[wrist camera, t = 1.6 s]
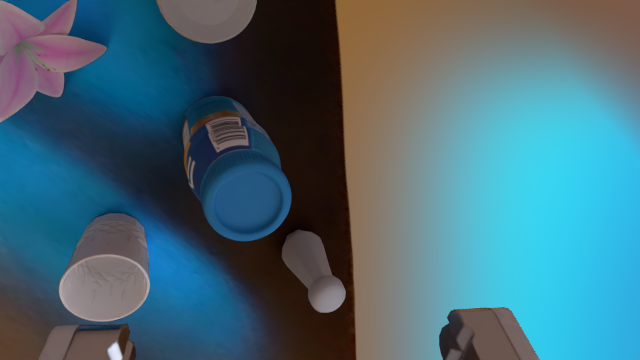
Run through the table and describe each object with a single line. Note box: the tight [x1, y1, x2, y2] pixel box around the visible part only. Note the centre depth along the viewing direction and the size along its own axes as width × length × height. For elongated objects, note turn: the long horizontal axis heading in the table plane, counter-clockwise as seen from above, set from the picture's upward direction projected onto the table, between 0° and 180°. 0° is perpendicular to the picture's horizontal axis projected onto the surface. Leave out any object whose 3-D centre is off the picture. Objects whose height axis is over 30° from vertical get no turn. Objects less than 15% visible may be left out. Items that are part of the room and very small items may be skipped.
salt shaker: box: [282, 229, 346, 312], centre depth 52 cm, size 6×6×13 cm
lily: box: [0, 0, 107, 122], centre depth 36 cm, size 12×12×10 cm
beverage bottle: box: [181, 96, 291, 241], centre depth 39 cm, size 8×8×20 cm
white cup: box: [59, 213, 150, 321], centre depth 44 cm, size 8×8×10 cm
